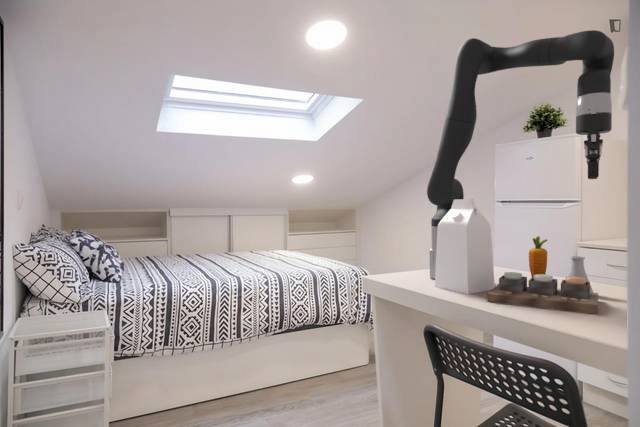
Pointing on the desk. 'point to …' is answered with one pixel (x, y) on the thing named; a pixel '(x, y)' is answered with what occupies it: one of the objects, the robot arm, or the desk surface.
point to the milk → (464, 250)
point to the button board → (545, 295)
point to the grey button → (543, 278)
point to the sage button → (513, 275)
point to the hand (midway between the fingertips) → (592, 178)
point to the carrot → (538, 258)
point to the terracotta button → (576, 280)
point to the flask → (578, 268)
